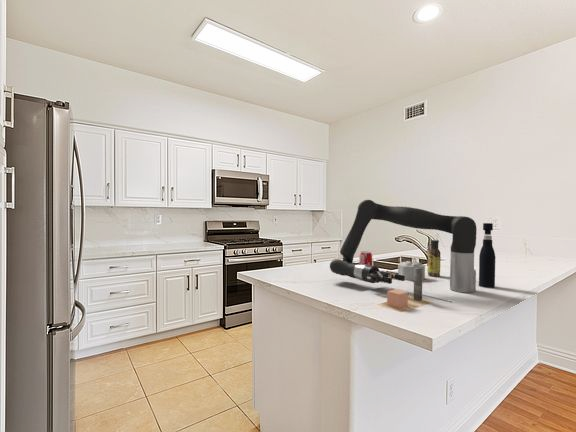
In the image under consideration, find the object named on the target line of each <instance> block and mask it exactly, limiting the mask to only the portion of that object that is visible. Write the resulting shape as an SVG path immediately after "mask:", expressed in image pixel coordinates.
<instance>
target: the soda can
mask: <svg viewBox="0 0 576 432" xmlns="http://www.w3.org/2000/svg"><path fill="white" fill-rule="evenodd" d="M358 264H366V265H372V266H373V254H372V252H371V251H369V250H367V251H365V250H364V251H360V254H359V263H358Z"/></svg>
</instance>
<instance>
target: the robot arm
mask: <svg viewBox="0 0 576 432" xmlns="http://www.w3.org/2000/svg"><path fill="white" fill-rule="evenodd" d="M372 220H375V221H376V220H377V221H385V222H389V223H392V224H395V225H398V226H399V225H400V226H403V227H408V228H414V229H421V230H435V231H441V232H445V233H448V234H451V235H452V242H451V245H450V259H449V260H450V264H449V265H450V266H449V267H450V268H449V270H450V271H449V277H450V278H449V289H450V290H452V291H454V292H458V293H474V292H476V287H477V285H476V283H477V282H476V281H477V278H476V277H477V270H476V269H475V249H476V244H477V224H476V221H475V220H474V219H473V218H472V217H469V216H462V215H458V216H457V215H455V216H454V215H444V214H439V213H435V212H432V211H429V210H425V209H420V208H416V207H411V206H410V207H409V206H391V205H389V206H388V205H383V204H380V203H376V202H375V201H374V200H372V199H364V200H362V201H361V202H360V203H359V204H358V206H357V211H356V215H355V218H354V221H353V224H352V226H351V228H350V230H349V232H348V234H347V235H346V238H345V239H344V242H343V244H342V245H341V247H340V250H339V252H340V255H341V256H342V259H339V258H335V259H333V260H331V262H330V263H329V270H330V271H331V272H332V273H333V274H335V275H340V276H344V277H345V276H346V277H348V278H352V279H357V280H358V281H363V282H365V283H371V284H376V283H377V284H378V283H384V284H385V283H386V284H390V285H391V284H392V283H393V280H395V281H402V282H404V281H406V280H405V276H403V275H398V272H395V271H391V270H390V271H389V270H386V271H385V270H380V269H379V267H378V266H376V265H373V264H372V265H366V264H359V263H358V262H353V261H354V256H355V255H356V252H357V250H358V248H359V246H360V243H361V240H362V238H363V235H364V233H365V231H366V229H367V227H368V226H369V223H370V222H371V221H372Z"/></svg>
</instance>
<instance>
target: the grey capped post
mask: <svg viewBox="0 0 576 432" xmlns="http://www.w3.org/2000/svg"><path fill="white" fill-rule="evenodd" d="M422 270H423V269H422V268H414V281H413V296H411V295H408V306H407V307H403V308H400V309H399V308H395V307H392V306H389V305H387V301H385V302H381V303H377V306H381V307H384V308H386V309H390V310H393V311H396V312H400V313H404V312H406V311H409V310H413V309H415V308H419V307H423V306H425V305H429V304H432V303H433V301H430V300H427V299H424V298H423V296H422V294H423V280H422Z"/></svg>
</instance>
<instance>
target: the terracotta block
mask: <svg viewBox="0 0 576 432" xmlns="http://www.w3.org/2000/svg"><path fill="white" fill-rule="evenodd" d="M408 296H409V292H408V291H405V290H401V289H396V288H395V289H391V290H387V291H386V302H387V305H389V306H392V307H395V308H399V309H400V308H403V307H407V306H408Z"/></svg>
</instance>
